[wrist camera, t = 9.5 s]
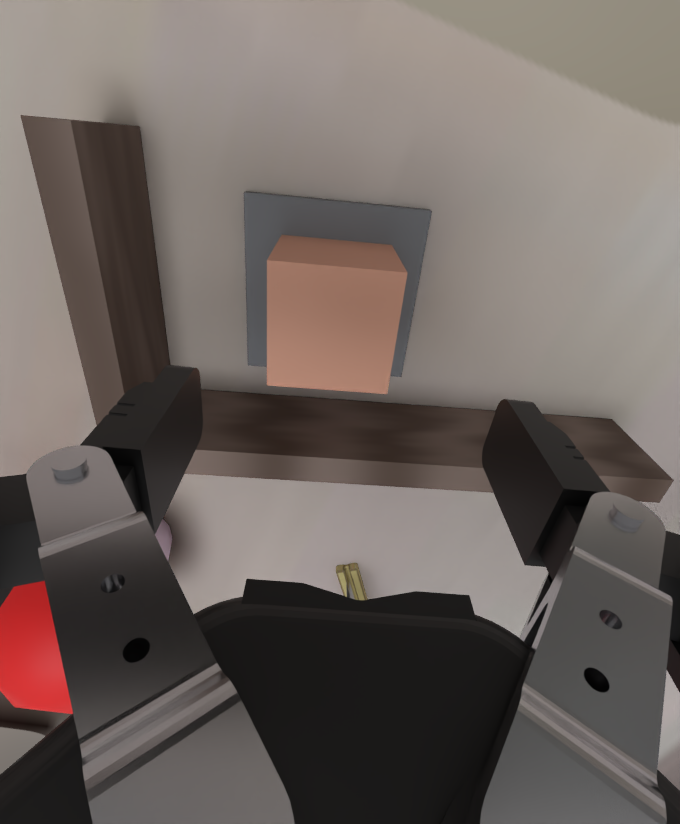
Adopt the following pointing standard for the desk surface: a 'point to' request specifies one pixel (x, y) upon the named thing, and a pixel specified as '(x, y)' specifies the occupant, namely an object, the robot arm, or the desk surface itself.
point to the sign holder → (351, 581)
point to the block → (332, 314)
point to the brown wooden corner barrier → (247, 412)
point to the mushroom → (38, 646)
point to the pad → (327, 221)
